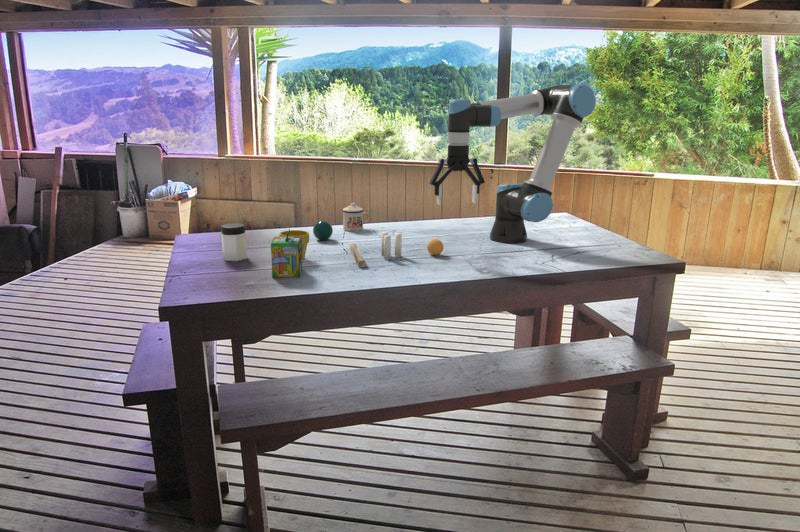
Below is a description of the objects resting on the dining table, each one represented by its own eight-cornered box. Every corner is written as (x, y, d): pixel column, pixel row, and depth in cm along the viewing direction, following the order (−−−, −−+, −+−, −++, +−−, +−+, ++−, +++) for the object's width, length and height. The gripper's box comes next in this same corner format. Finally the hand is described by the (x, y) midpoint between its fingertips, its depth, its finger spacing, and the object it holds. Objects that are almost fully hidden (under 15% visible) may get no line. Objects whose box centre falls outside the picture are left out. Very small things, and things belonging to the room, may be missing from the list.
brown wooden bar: (355, 249, 217) (355, 243, 216) (364, 267, 194) (364, 260, 193) (350, 250, 216) (350, 243, 215) (359, 267, 194) (359, 260, 193)
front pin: (400, 255, 209) (400, 233, 207) (401, 257, 207) (402, 234, 205) (394, 255, 209) (394, 233, 207) (395, 257, 207) (395, 234, 204)
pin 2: (389, 257, 206) (390, 235, 204) (391, 259, 204) (391, 236, 202) (383, 258, 206) (383, 235, 203) (384, 259, 204) (384, 236, 201)
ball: (440, 252, 214) (441, 237, 213) (445, 256, 209) (445, 240, 207) (425, 253, 213) (425, 237, 211) (429, 257, 208) (429, 241, 206)
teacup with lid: (346, 232, 245) (345, 205, 242) (340, 228, 253) (340, 202, 250) (372, 230, 249) (372, 204, 246) (366, 226, 258) (365, 200, 254)
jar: (249, 260, 201) (247, 226, 198) (225, 262, 198) (223, 228, 194) (244, 254, 209) (242, 222, 205) (221, 256, 205) (218, 223, 202)
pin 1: (387, 254, 211) (387, 232, 209) (388, 256, 209) (388, 233, 206) (380, 254, 210) (381, 232, 208) (382, 256, 208) (382, 233, 206)
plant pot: (306, 254, 209) (305, 228, 206) (312, 262, 200) (312, 234, 197) (278, 257, 205) (276, 230, 203) (283, 264, 196) (282, 237, 193)
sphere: (331, 242, 227) (331, 223, 225) (311, 242, 228) (311, 222, 225) (334, 237, 235) (333, 218, 233) (314, 237, 235) (314, 218, 233)
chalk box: (275, 269, 190) (273, 226, 186) (303, 269, 191) (301, 226, 187) (271, 278, 181) (268, 232, 177) (300, 277, 182) (298, 232, 178)
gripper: (487, 143, 208) (484, 200, 214) (421, 144, 202) (421, 203, 209) (495, 144, 201) (492, 204, 207) (427, 145, 195) (426, 206, 202)
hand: (456, 203), depth 208 cm, fingers open, 13 cm apart
